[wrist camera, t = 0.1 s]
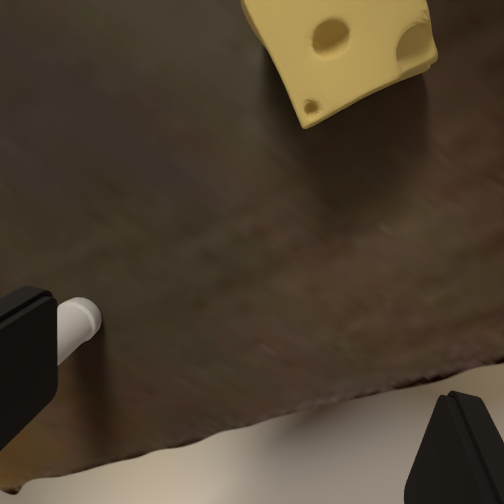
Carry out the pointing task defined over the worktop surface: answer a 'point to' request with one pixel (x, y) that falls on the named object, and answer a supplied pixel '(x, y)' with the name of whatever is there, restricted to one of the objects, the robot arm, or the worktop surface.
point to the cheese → (341, 48)
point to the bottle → (76, 325)
